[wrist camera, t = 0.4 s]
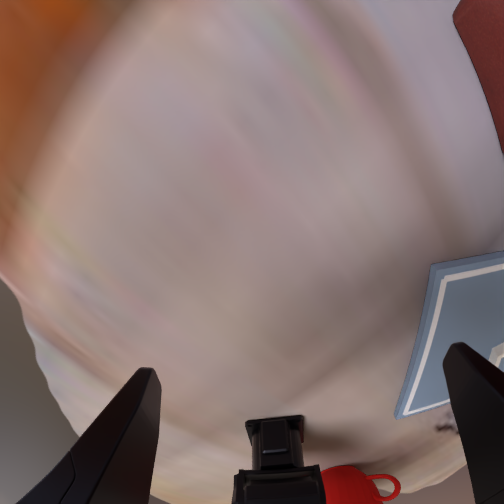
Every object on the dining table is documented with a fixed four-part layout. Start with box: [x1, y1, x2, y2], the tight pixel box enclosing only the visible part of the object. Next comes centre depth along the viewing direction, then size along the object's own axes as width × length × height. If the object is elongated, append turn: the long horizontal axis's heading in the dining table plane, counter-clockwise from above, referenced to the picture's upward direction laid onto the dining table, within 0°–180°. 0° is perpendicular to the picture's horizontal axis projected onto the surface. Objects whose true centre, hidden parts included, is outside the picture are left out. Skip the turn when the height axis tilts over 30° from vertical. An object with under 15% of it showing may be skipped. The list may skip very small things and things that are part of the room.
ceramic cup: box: [321, 466, 401, 504], centre depth 37 cm, size 13×17×10 cm
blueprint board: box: [394, 251, 504, 420], centre depth 28 cm, size 22×22×1 cm
